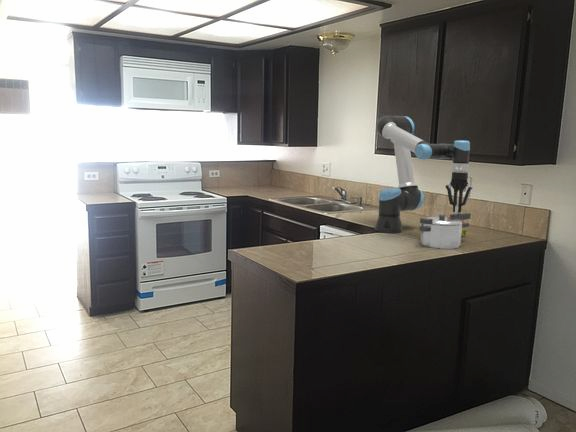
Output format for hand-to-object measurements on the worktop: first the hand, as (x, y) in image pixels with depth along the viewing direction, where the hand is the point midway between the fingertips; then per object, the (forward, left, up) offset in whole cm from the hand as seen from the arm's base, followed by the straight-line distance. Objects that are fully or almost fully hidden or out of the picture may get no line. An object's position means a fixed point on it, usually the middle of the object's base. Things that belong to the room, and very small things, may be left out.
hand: (456, 218), depth 251 cm
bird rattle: (-9, +10, -12) cm, 17 cm away
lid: (+3, -10, 0) cm, 10 cm away
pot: (+4, -11, -11) cm, 16 cm away
